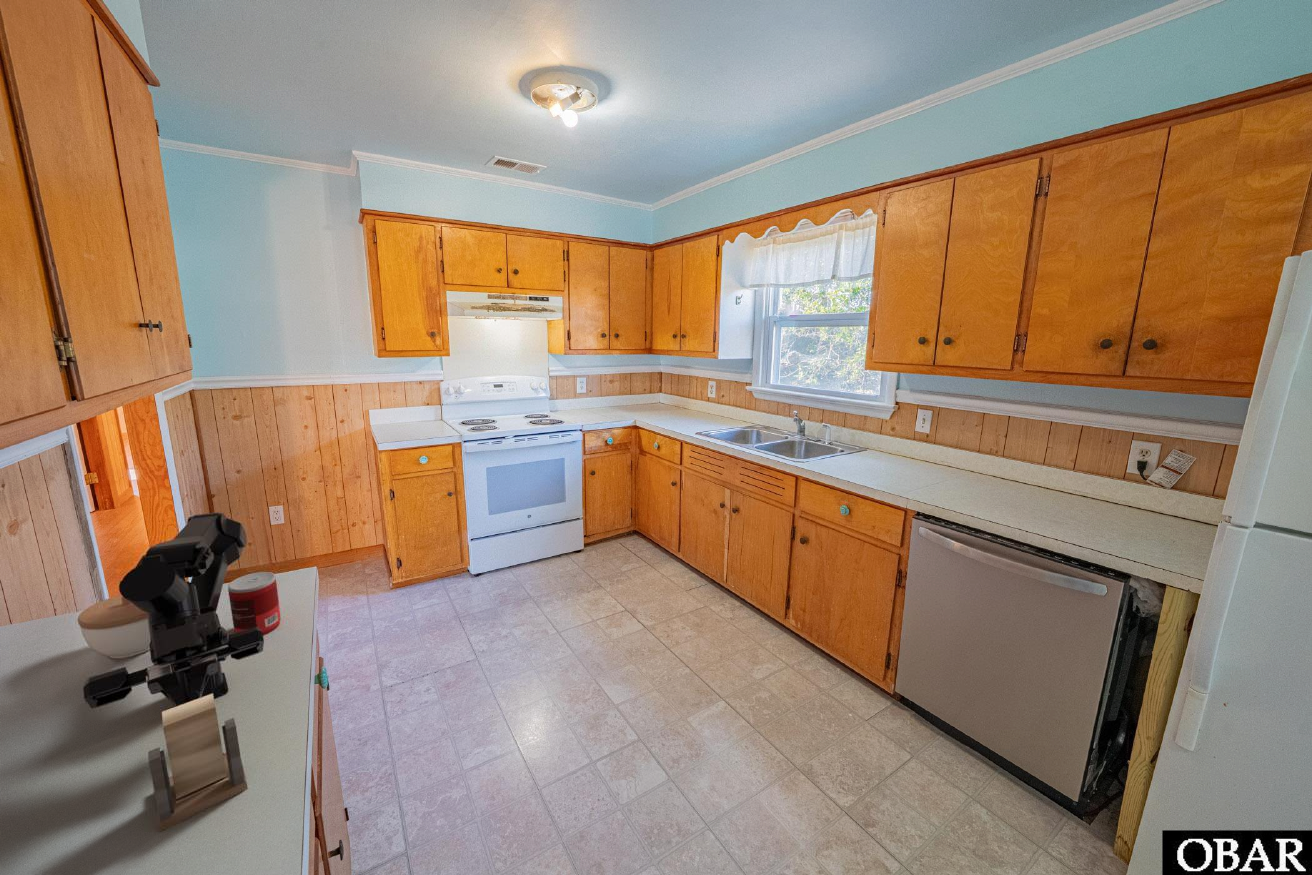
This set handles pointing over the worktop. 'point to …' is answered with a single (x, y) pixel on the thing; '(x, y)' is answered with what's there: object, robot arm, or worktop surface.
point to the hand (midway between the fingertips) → (191, 722)
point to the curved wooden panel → (194, 745)
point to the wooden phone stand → (204, 797)
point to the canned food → (255, 602)
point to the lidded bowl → (115, 628)
